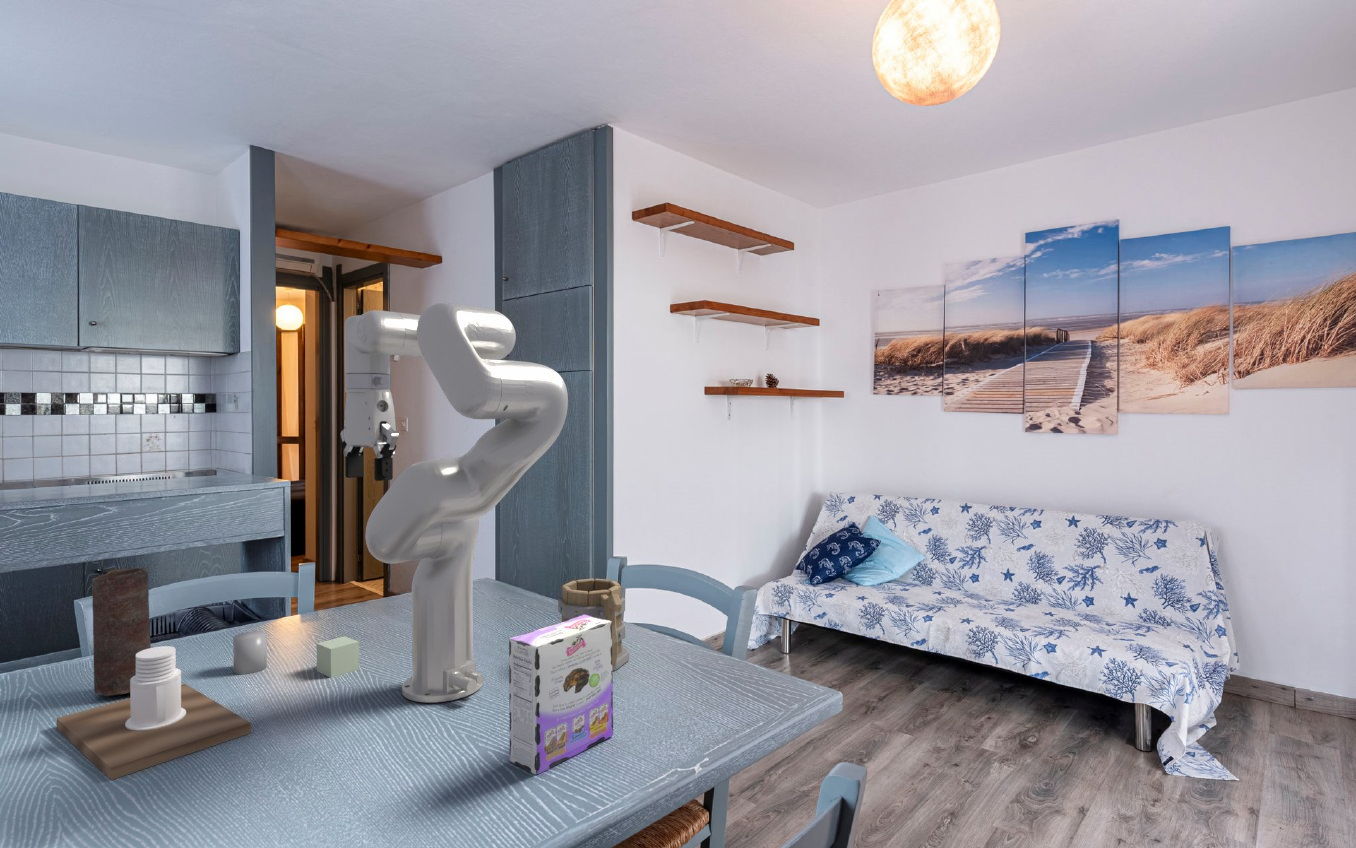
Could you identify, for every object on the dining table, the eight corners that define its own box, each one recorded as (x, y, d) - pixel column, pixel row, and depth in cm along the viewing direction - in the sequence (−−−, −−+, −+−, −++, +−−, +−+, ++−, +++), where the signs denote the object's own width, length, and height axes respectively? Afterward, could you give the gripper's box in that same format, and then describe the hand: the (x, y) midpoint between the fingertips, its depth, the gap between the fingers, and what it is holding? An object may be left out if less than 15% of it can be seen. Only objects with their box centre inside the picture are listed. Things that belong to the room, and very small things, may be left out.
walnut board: (250, 733, 100) (250, 722, 100) (111, 780, 88) (110, 768, 88) (185, 693, 115) (184, 683, 115) (56, 728, 102) (56, 718, 102)
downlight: (121, 718, 102) (120, 650, 101) (180, 704, 107) (179, 638, 106) (130, 739, 96) (129, 667, 95) (191, 723, 101) (191, 654, 100)
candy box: (585, 725, 103) (585, 612, 103) (614, 737, 99) (614, 620, 99) (507, 762, 92) (506, 636, 92) (536, 776, 88) (536, 645, 88)
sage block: (359, 669, 125) (359, 641, 125) (331, 678, 121) (330, 649, 121) (344, 663, 128) (344, 636, 128) (316, 671, 124) (316, 643, 124)
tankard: (549, 655, 133) (549, 575, 132) (614, 646, 138) (613, 569, 137) (577, 694, 114) (577, 601, 114) (651, 682, 119) (650, 593, 119)
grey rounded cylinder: (271, 668, 126) (271, 634, 126) (241, 676, 122) (240, 642, 122) (259, 662, 129) (258, 629, 129) (228, 670, 125) (228, 636, 125)
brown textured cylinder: (118, 704, 110) (116, 576, 110) (80, 700, 112) (78, 574, 111) (163, 686, 118) (161, 566, 117) (127, 682, 119) (125, 564, 119)
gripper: (414, 384, 127) (414, 479, 127) (362, 386, 137) (362, 474, 137) (374, 382, 121) (375, 483, 121) (323, 385, 131) (324, 477, 131)
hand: (368, 478), depth 129 cm, fingers open, 9 cm apart
